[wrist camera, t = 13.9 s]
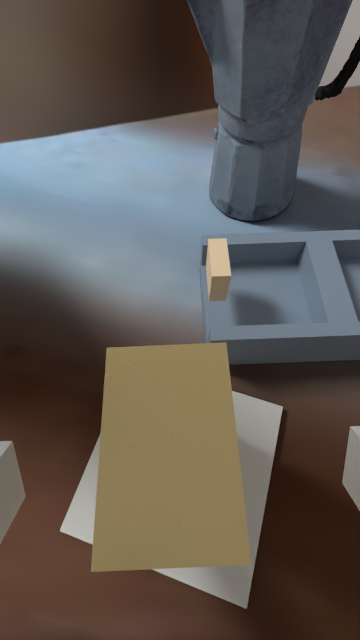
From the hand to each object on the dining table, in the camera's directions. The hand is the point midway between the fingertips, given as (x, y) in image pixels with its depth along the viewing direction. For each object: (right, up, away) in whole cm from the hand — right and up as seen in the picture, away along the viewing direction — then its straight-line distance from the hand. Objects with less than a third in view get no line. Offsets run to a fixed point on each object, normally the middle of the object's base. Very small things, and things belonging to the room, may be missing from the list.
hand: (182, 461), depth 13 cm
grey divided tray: (+14, +6, +15) cm, 22 cm away
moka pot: (+8, +19, +22) cm, 30 cm away
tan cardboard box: (0, -4, +9) cm, 10 cm away
